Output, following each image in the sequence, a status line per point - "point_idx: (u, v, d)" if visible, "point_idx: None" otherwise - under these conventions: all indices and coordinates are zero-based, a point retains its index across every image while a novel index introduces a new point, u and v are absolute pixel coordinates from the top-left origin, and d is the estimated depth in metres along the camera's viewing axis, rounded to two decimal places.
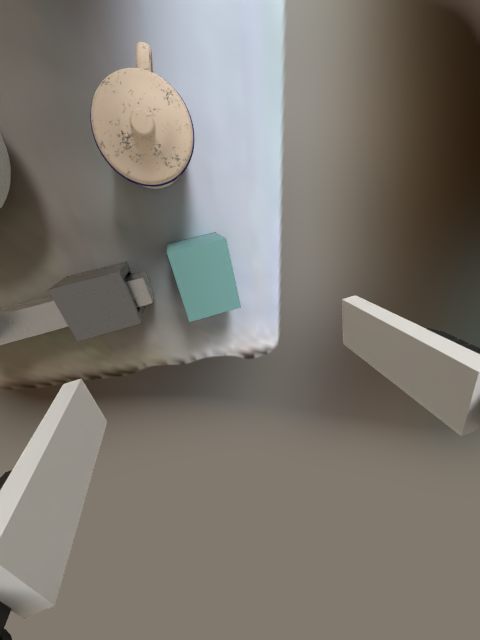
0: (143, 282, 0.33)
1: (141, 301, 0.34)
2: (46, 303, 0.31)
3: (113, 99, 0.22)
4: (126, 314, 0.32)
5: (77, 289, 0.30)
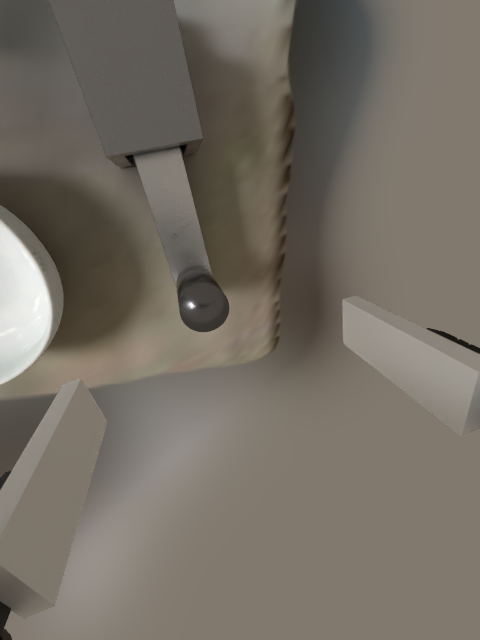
0: None
1: None
2: (142, 180, 0.20)
3: None
4: (147, 11, 0.16)
5: (99, 102, 0.17)
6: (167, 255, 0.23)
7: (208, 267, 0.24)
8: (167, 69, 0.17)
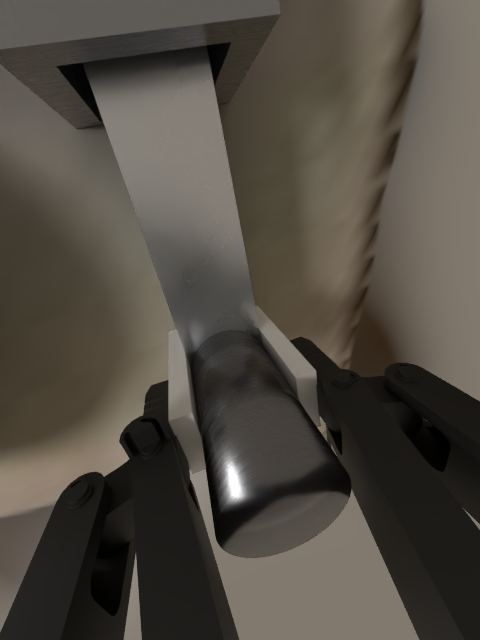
0: None
1: None
2: (114, 142, 0.08)
3: None
4: None
5: None
6: (174, 313, 0.11)
7: (256, 331, 0.12)
8: None
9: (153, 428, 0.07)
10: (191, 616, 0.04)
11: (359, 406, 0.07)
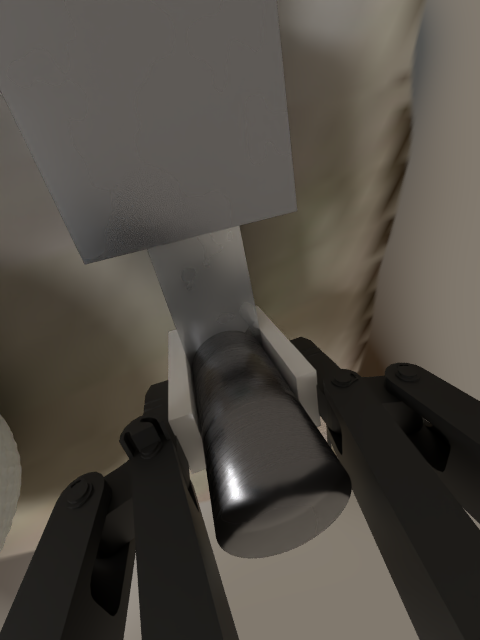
0: None
1: None
2: None
3: None
4: None
5: (62, 146, 0.07)
6: (174, 314, 0.11)
7: (256, 331, 0.12)
8: (233, 60, 0.07)
9: (153, 428, 0.07)
10: (191, 616, 0.04)
11: (359, 406, 0.07)
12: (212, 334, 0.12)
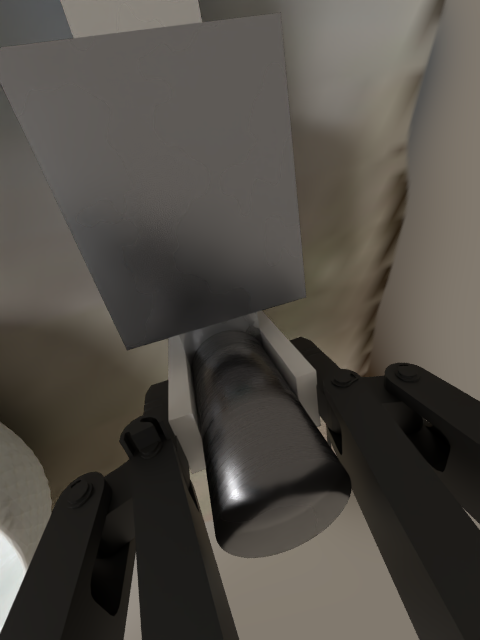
0: None
1: None
2: None
3: None
4: (227, 83, 0.07)
5: (115, 265, 0.08)
6: None
7: (256, 331, 0.12)
8: (256, 193, 0.08)
9: (153, 428, 0.07)
10: (191, 615, 0.04)
11: (359, 406, 0.07)
12: (212, 333, 0.12)
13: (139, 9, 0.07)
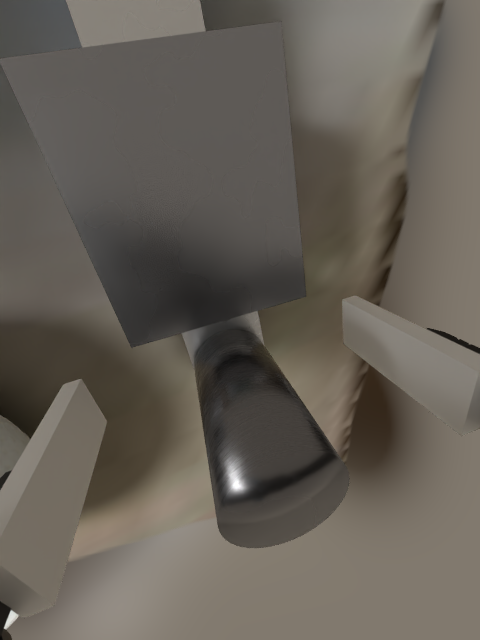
0: None
1: None
2: None
3: None
4: (229, 89, 0.07)
5: (121, 265, 0.08)
6: None
7: (257, 330, 0.12)
8: (257, 194, 0.08)
9: None
10: None
11: None
12: (214, 332, 0.12)
13: (145, 17, 0.07)
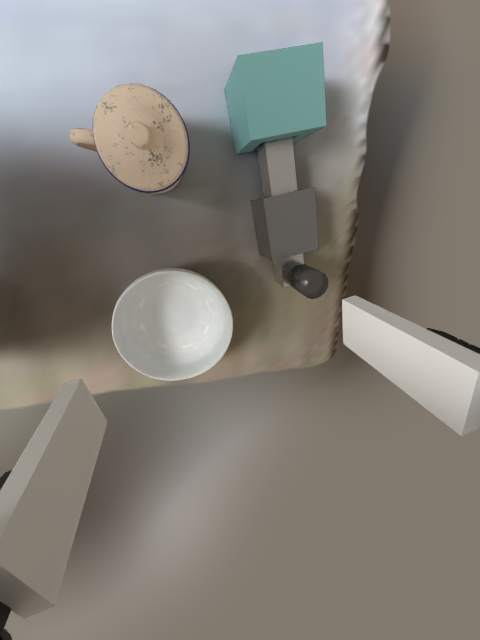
0: None
1: None
2: None
3: (124, 164, 0.25)
4: (303, 200, 0.33)
5: (274, 238, 0.34)
6: None
7: (302, 262, 0.38)
8: (307, 221, 0.35)
9: None
10: None
11: None
12: (289, 262, 0.38)
13: (284, 183, 0.34)
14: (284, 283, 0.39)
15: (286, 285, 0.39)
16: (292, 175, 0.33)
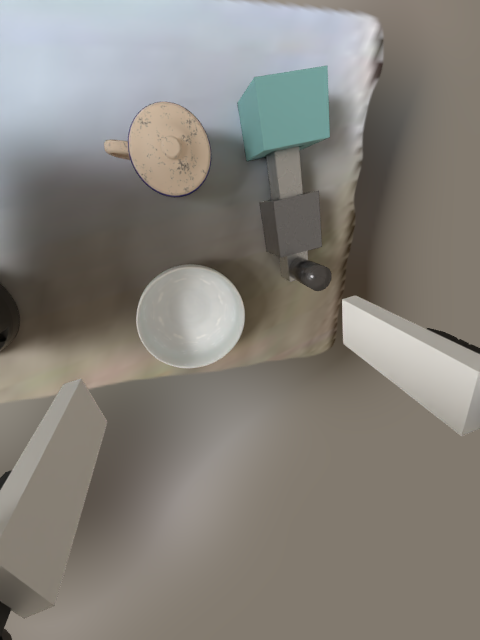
0: None
1: None
2: None
3: (156, 172, 0.28)
4: (308, 202, 0.37)
5: (283, 237, 0.38)
6: None
7: (307, 258, 0.42)
8: (312, 222, 0.38)
9: None
10: None
11: None
12: (295, 258, 0.42)
13: (291, 188, 0.37)
14: (290, 278, 0.43)
15: (292, 279, 0.43)
16: (298, 180, 0.37)
